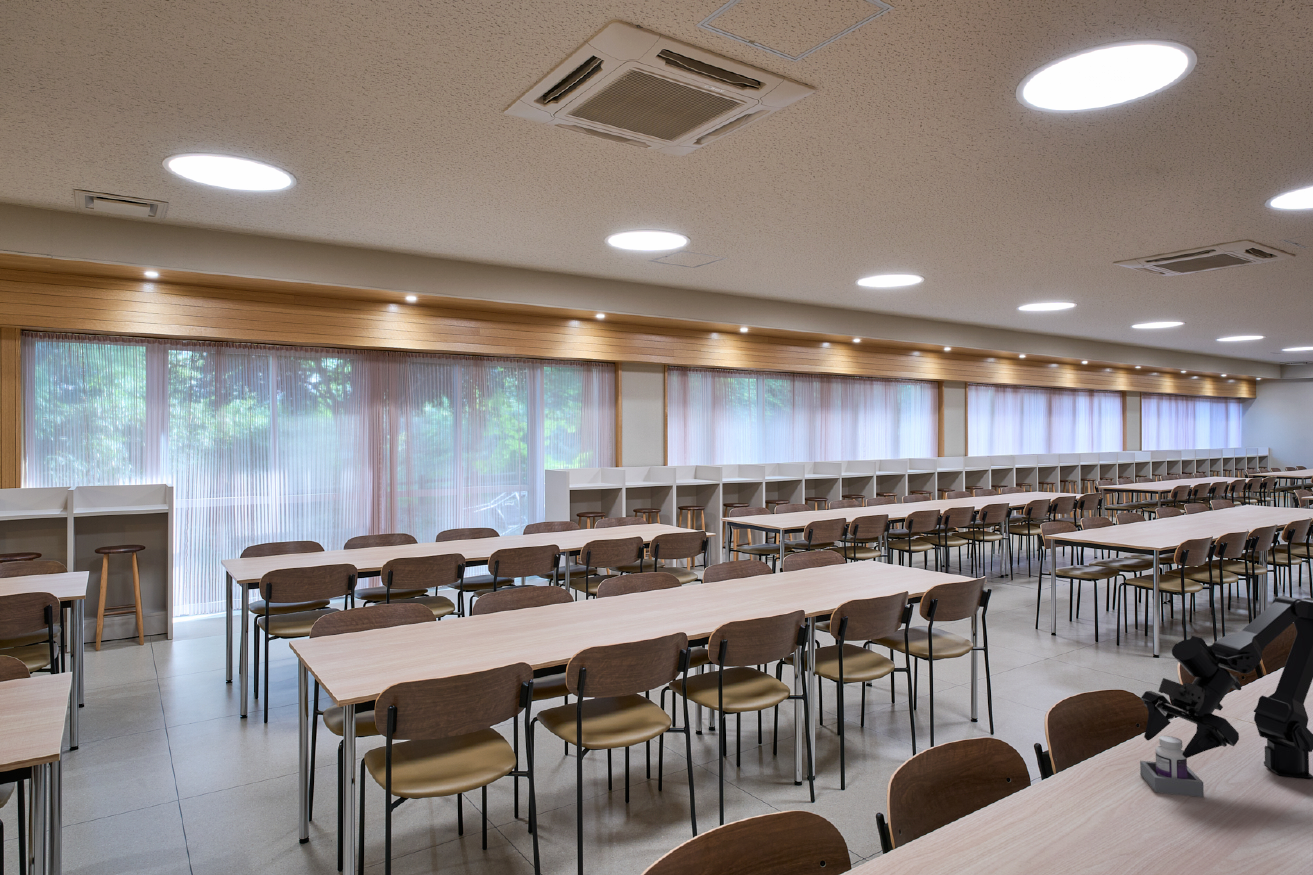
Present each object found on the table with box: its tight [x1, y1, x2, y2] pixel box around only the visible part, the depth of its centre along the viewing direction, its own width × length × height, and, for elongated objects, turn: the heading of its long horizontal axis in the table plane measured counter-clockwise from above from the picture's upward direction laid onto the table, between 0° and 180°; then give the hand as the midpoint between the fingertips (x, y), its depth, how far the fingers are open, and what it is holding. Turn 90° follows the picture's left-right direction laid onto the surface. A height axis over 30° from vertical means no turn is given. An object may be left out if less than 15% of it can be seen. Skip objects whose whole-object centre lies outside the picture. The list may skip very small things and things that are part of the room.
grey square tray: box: [1139, 760, 1205, 798], centre depth 155 cm, size 9×9×3 cm
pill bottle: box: [1155, 735, 1188, 779], centre depth 155 cm, size 5×5×10 cm
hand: (1164, 747), depth 155 cm, fingers open, 9 cm apart
